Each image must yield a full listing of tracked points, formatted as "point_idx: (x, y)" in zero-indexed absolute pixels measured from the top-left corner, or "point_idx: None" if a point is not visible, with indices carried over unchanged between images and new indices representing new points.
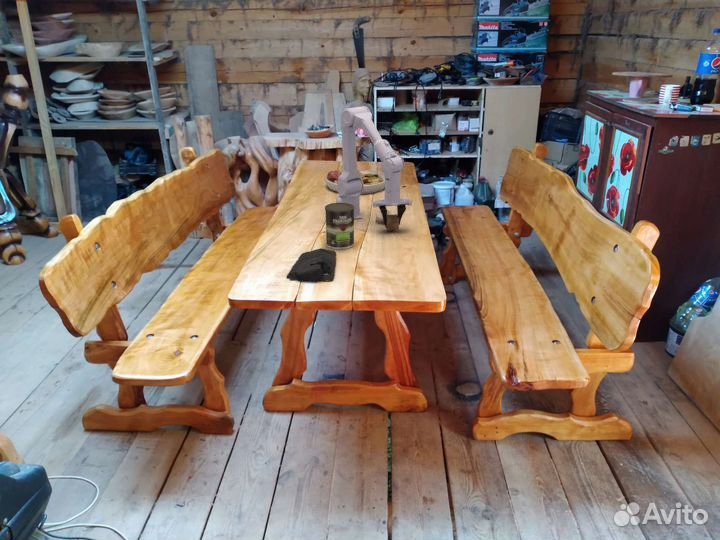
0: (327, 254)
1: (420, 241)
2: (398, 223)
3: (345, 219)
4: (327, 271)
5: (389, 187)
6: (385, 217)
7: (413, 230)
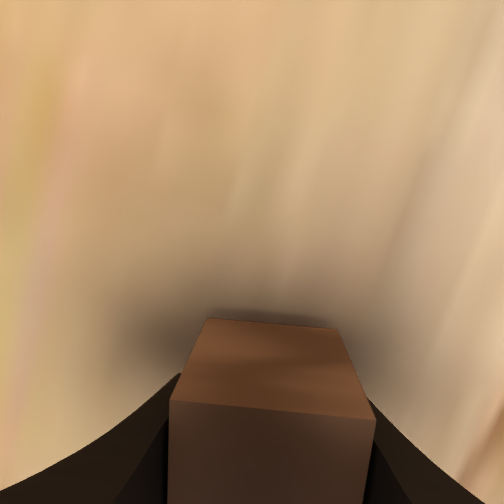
0: None
1: (50, 5)
2: (197, 352)
3: None
4: None
5: None
6: (404, 461)
7: (61, 329)
